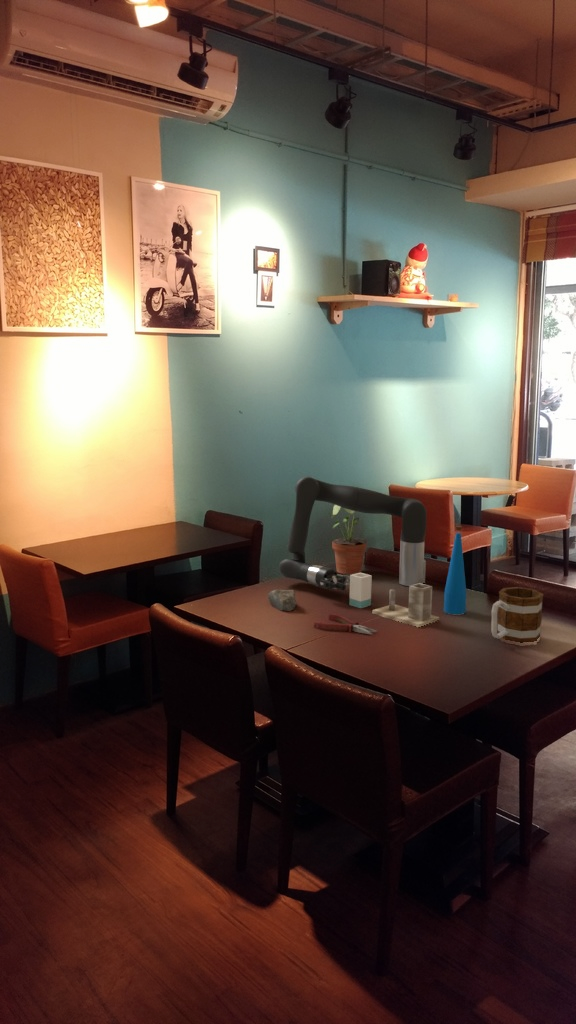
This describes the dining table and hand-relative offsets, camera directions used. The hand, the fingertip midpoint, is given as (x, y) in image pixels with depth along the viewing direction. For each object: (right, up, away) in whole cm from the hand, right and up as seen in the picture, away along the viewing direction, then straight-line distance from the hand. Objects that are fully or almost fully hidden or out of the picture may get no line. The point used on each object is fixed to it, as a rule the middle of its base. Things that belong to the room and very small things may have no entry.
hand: (353, 585), depth 281 cm
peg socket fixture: (+16, -9, -14) cm, 24 cm away
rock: (-25, -7, -2) cm, 26 cm away
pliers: (-6, -12, -27) cm, 30 cm away
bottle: (+34, -9, -8) cm, 36 cm away
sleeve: (+2, -7, -1) cm, 7 cm away
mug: (+46, -14, -36) cm, 60 cm away
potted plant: (+1, +1, +43) cm, 43 cm away
